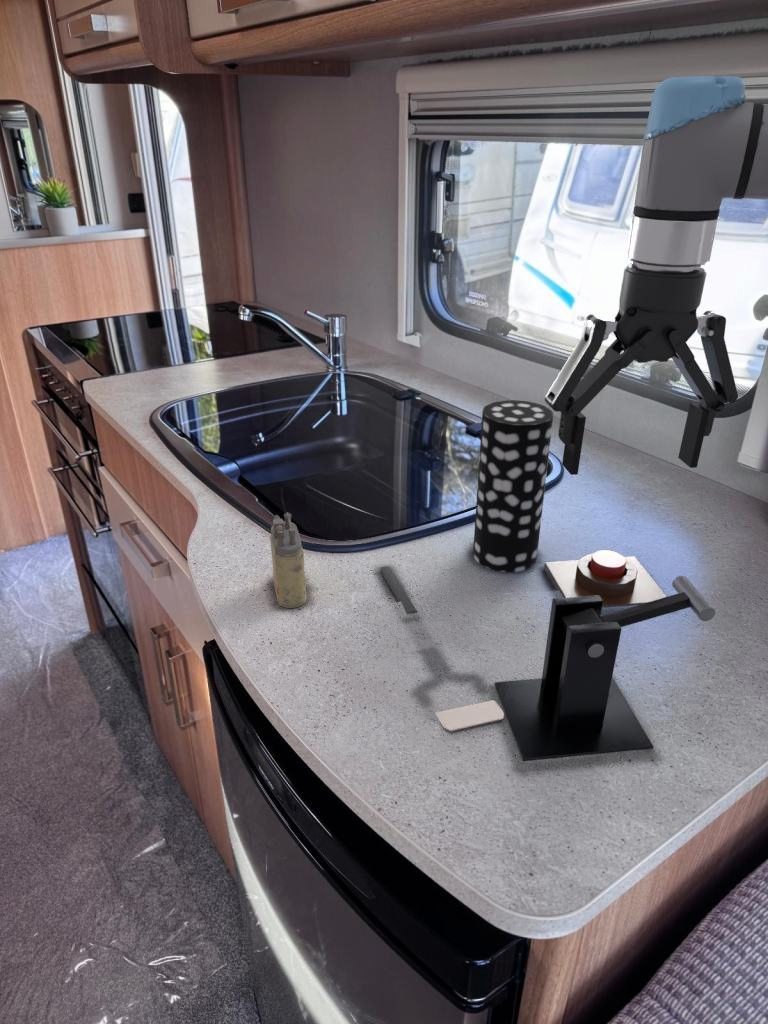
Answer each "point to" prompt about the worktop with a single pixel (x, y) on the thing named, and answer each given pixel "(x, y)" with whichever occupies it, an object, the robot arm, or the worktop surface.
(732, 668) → the worktop surface
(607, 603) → the button block
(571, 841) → the worktop surface
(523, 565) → the white-spotted black cylinder
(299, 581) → the lighter
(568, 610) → the bracket
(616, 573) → the button
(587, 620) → the lever
